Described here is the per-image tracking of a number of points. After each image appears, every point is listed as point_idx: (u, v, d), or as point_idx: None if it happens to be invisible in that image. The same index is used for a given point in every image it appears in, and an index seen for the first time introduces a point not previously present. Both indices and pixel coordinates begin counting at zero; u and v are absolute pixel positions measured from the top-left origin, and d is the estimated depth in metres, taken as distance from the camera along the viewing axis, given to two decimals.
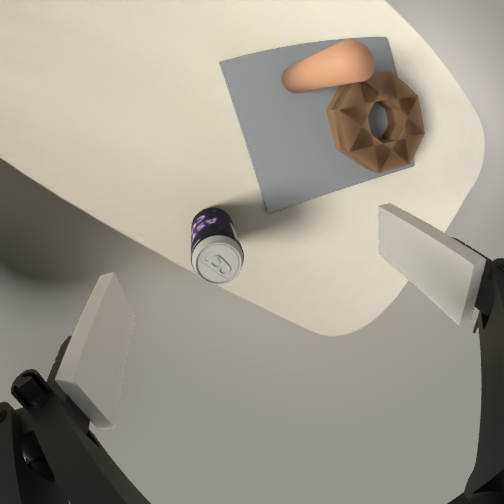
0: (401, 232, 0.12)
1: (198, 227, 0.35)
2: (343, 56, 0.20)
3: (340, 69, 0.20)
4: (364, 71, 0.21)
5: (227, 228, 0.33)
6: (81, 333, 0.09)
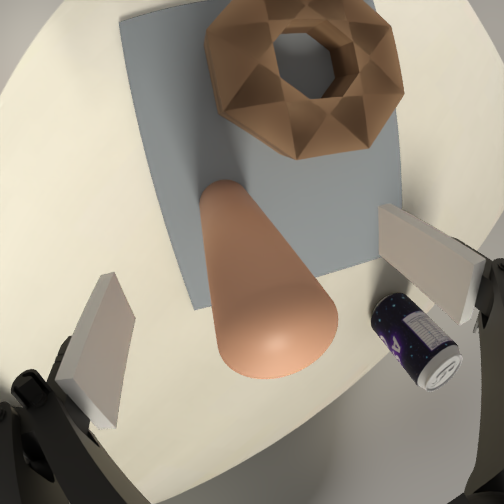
0: (401, 231, 0.12)
1: None
2: (271, 363, 0.10)
3: (304, 365, 0.10)
4: (311, 313, 0.09)
5: (414, 344, 0.25)
6: (81, 333, 0.09)
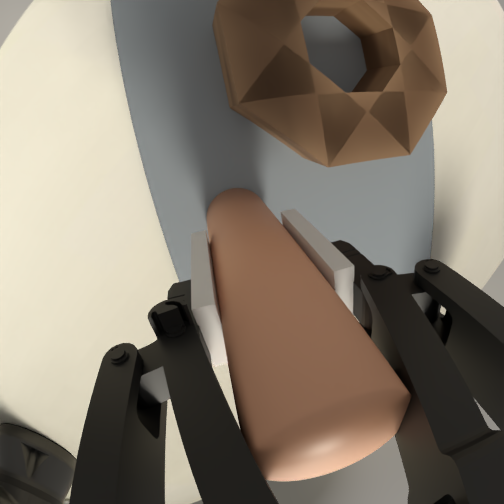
0: (294, 236, 0.14)
1: None
2: (316, 467, 0.06)
3: (356, 459, 0.06)
4: (382, 416, 0.05)
5: None
6: (201, 272, 0.11)
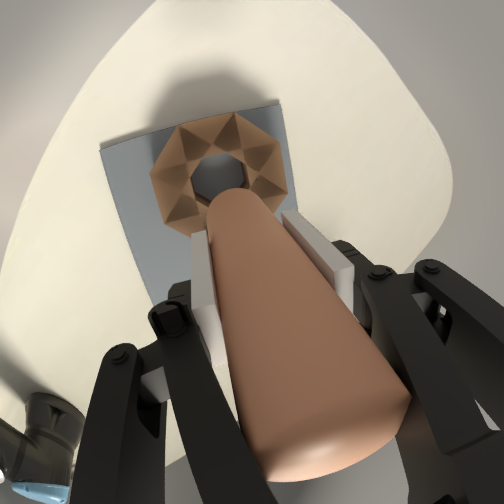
0: (294, 236, 0.14)
1: None
2: (317, 467, 0.06)
3: (357, 460, 0.06)
4: (383, 417, 0.05)
5: None
6: (201, 272, 0.11)
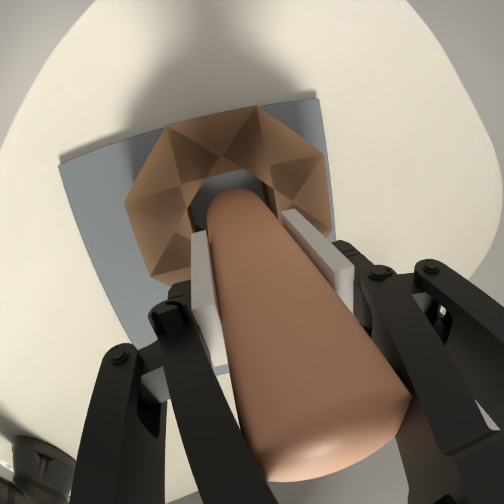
0: (294, 236, 0.14)
1: None
2: (317, 468, 0.06)
3: (357, 460, 0.06)
4: (383, 417, 0.05)
5: None
6: (201, 272, 0.11)
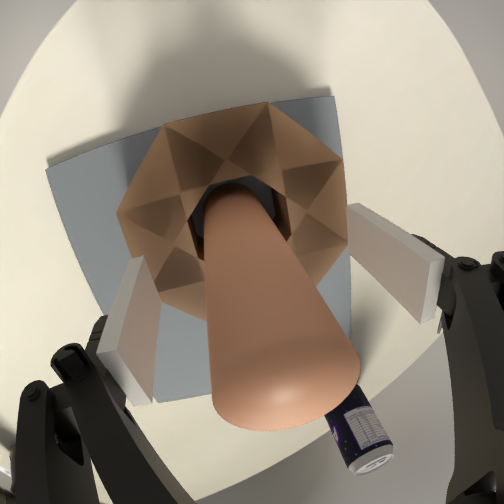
0: (366, 231, 0.13)
1: (336, 441, 0.29)
2: (277, 417, 0.08)
3: (316, 416, 0.08)
4: (329, 367, 0.07)
5: (348, 440, 0.26)
6: (119, 310, 0.10)
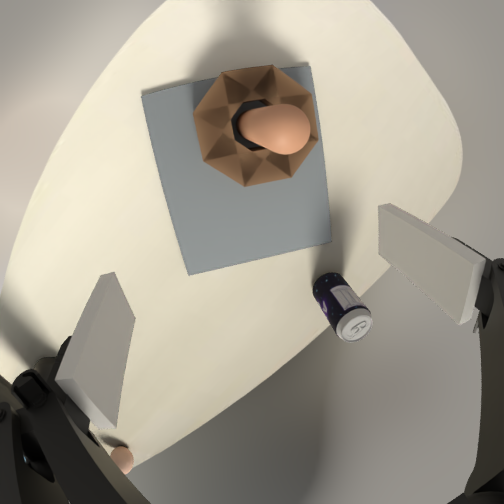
0: (401, 231, 0.12)
1: None
2: (281, 143, 0.22)
3: (297, 149, 0.22)
4: (298, 120, 0.21)
5: (334, 306, 0.40)
6: (81, 333, 0.09)
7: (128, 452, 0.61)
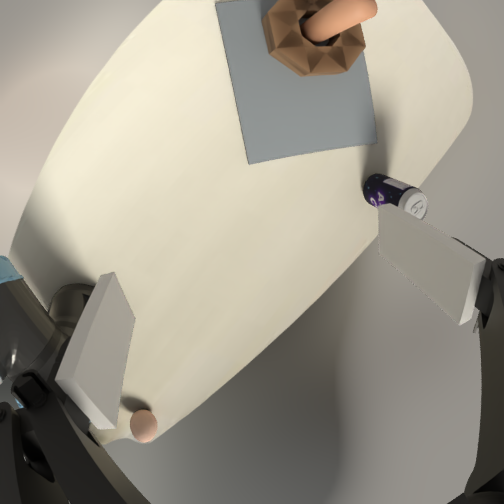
0: (401, 232, 0.12)
1: None
2: (360, 10, 0.21)
3: (370, 16, 0.22)
4: None
5: (391, 190, 0.40)
6: (81, 333, 0.09)
7: (151, 415, 0.59)
